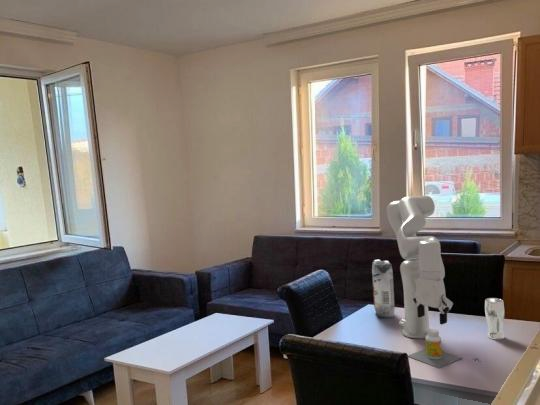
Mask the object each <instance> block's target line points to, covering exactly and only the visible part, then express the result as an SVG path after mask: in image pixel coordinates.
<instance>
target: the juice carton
mask: <svg viewBox="0 0 540 405" xmlns="http://www.w3.org/2000/svg"><path fill="white" fill-rule="evenodd" d="M371 273H372V274H371V275H372V278H371V279H372V291H373V292H372V294H373V295H372V296H373V307H374V310H375V313H376V315H377V317H378V318H379V317H384V318H394V314H395V292H394V291H395V290H394V275H393V274H394V273H393V267H392V263H391V262H390V261H389V260H381V259H374V260H373V261H372V265H371Z"/></svg>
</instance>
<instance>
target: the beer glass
mask: <svg viewBox="0 0 540 405" xmlns="http://www.w3.org/2000/svg"><path fill="white" fill-rule="evenodd" d="M504 305H505V304H504V300H503V299H501V298H497V297H488V298H486V299H485V300H484V313H485V319H486V324H487V335H486V336H487V338H488V339H491V340H504V339H505V335H504V330H503V329H504V320H505V306H504Z"/></svg>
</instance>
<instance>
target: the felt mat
mask: <svg viewBox="0 0 540 405" xmlns="http://www.w3.org/2000/svg"><path fill="white" fill-rule="evenodd" d="M408 355H409V357H408V358H410V359H413V360H416V361H419V362H421V363H424V364H427V365H429V366H432V367H434V368H436V369H442V368H443V367H446V366H449V365H450V364H453V363H455V362H457V361H459V360H462V359H463V357H461V356H459V355H455V354H453V353H450V352H447V351H444V350H442V357H441V358H440V359H431V358H428V357H427V355H426V348H423V349H420V350H418V351H416V352H413V353H411V354H408Z"/></svg>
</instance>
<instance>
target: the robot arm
mask: <svg viewBox="0 0 540 405" xmlns="http://www.w3.org/2000/svg"><path fill="white" fill-rule="evenodd" d="M435 208H436V206H435V202H434V200H433V198H432V197H431V196H429V195H414V196H413V195H412V196H405V197H403V198H401V199H400V200H394V201H392V202H389V204H388V205H387V207H386V214H387V220H388V222H389V224H390V226H391V228H392V230H393V232H394V234H395V237H396V241H397V246H398V251H399V254H400V256H401V258H402V259H403V261H402V262H401V264H400V266H399V271H400V276H401V282H402V287H403V288H402V289H403V304H404V307H403V308H404V318H402V319H401V320H400V321H399V323H398V324H399V325H400V326H403V328H402V329H401V334H402V335H403V336H404V337H407V338H410V339H411V338H412V339H426V336H427V335H428V334H427V330H428V329H431V328H430V321H429V319H430V318H429V308H432V309H433V308H434V309H438V310H439V312H440V313H439V324H440V325H441V326H442V325H445V324H446V323H448V313H449V311H451V309H452V307H453V305H454V303H453V301H451V299H449V298H447V296H446V287H445V283H444V278H445V276H446V274H445V273H446V272H445V271H446V270H445V266H444V263H443V259H442V258H443V257H442V256H441V255H442V254H441V252H442V250H441V243H440V241H439V240H438V238H436V237H435V236H433V235H426V236H424V235H423V236H418V235H417V233H418V232H420V231H421V230H423V229H424V228H425V226H426V224H427V222H426V219H427V218H428V217H430V216H433V214H434V213H435V210H436V209H435Z"/></svg>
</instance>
